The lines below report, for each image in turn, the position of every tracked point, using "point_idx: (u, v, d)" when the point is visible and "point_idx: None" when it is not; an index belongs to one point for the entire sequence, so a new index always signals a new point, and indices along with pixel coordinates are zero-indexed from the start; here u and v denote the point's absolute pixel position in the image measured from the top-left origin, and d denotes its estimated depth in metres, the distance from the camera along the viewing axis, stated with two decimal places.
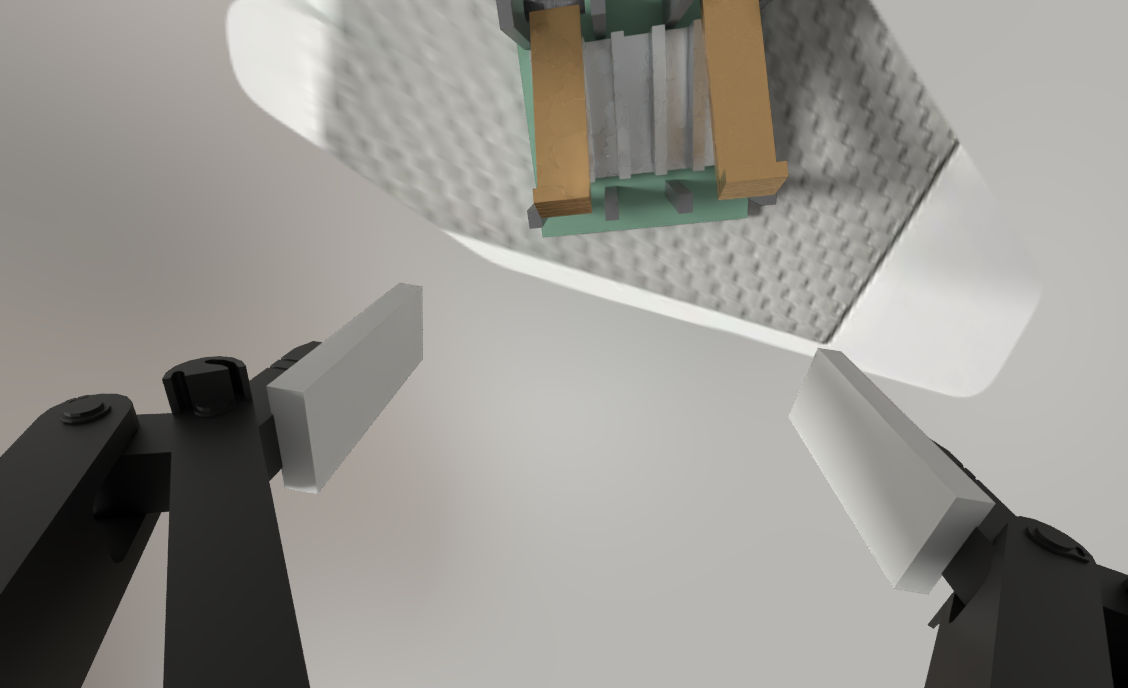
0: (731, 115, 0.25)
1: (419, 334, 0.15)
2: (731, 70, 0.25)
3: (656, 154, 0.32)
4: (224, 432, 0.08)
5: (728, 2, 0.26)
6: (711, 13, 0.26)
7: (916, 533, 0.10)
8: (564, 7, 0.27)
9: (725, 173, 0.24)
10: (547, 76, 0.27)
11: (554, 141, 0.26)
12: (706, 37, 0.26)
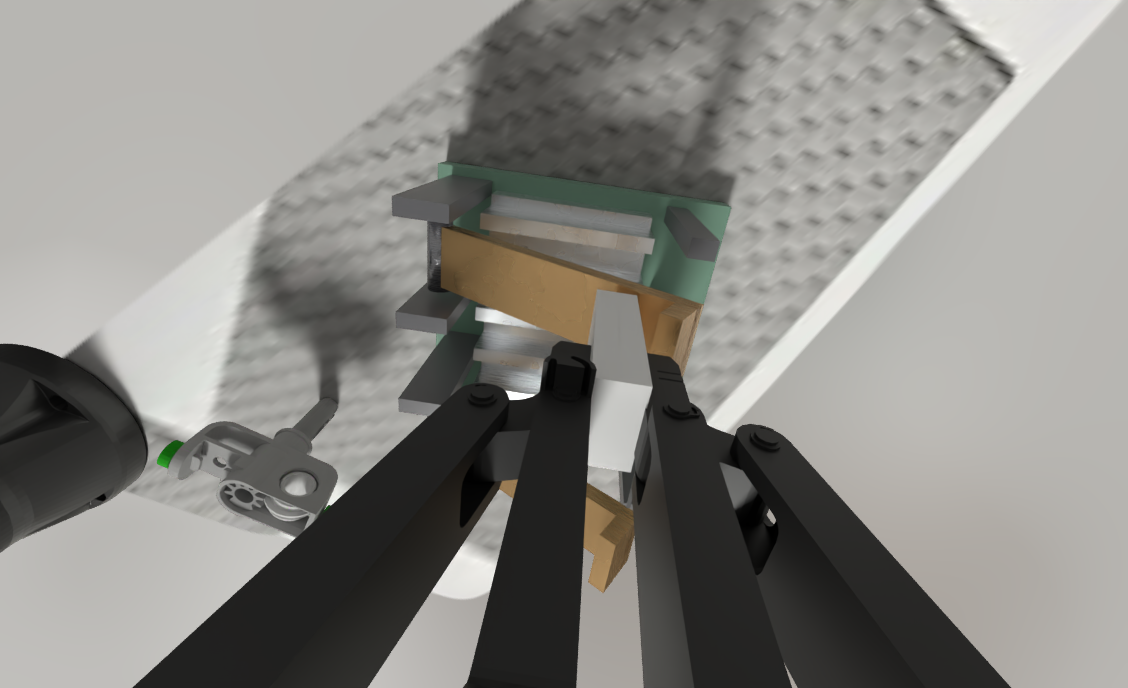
0: (580, 322, 0.19)
1: None
2: (530, 298, 0.20)
3: None
4: (567, 416, 0.10)
5: (461, 267, 0.22)
6: (468, 290, 0.22)
7: None
8: None
9: None
10: None
11: None
12: (490, 306, 0.21)
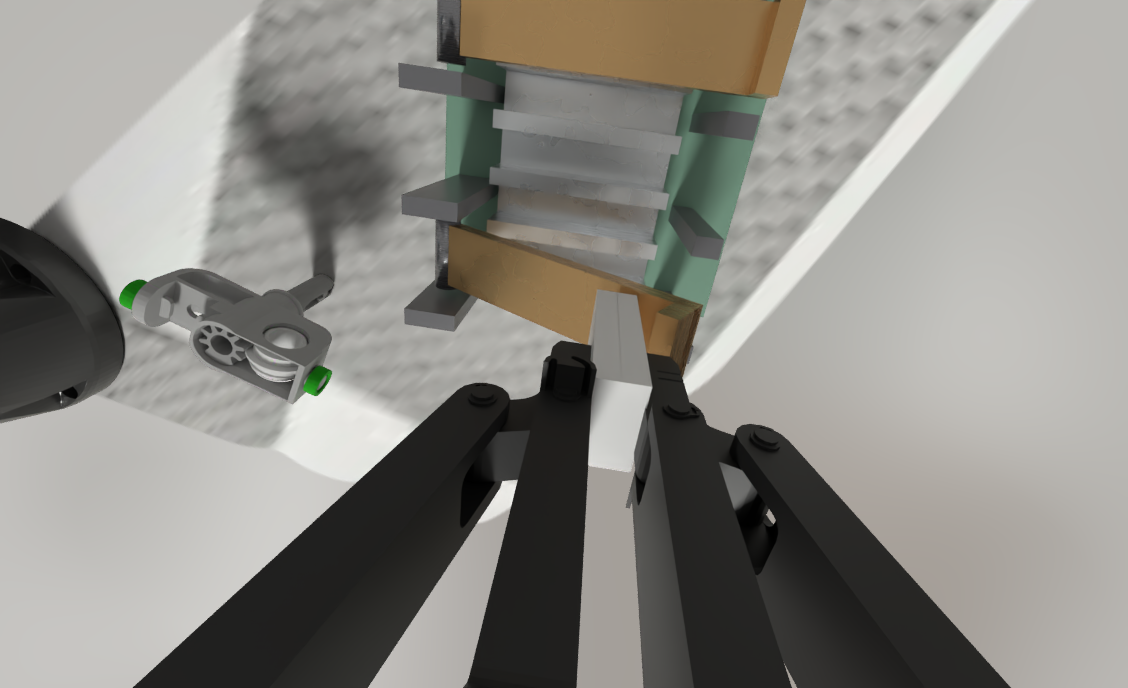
0: (659, 54, 0.18)
1: None
2: (594, 38, 0.18)
3: (649, 149, 0.22)
4: (567, 416, 0.10)
5: (493, 19, 0.18)
6: (503, 49, 0.19)
7: None
8: (449, 243, 0.22)
9: (761, 93, 0.17)
10: (512, 294, 0.21)
11: (587, 320, 0.19)
12: (536, 65, 0.19)
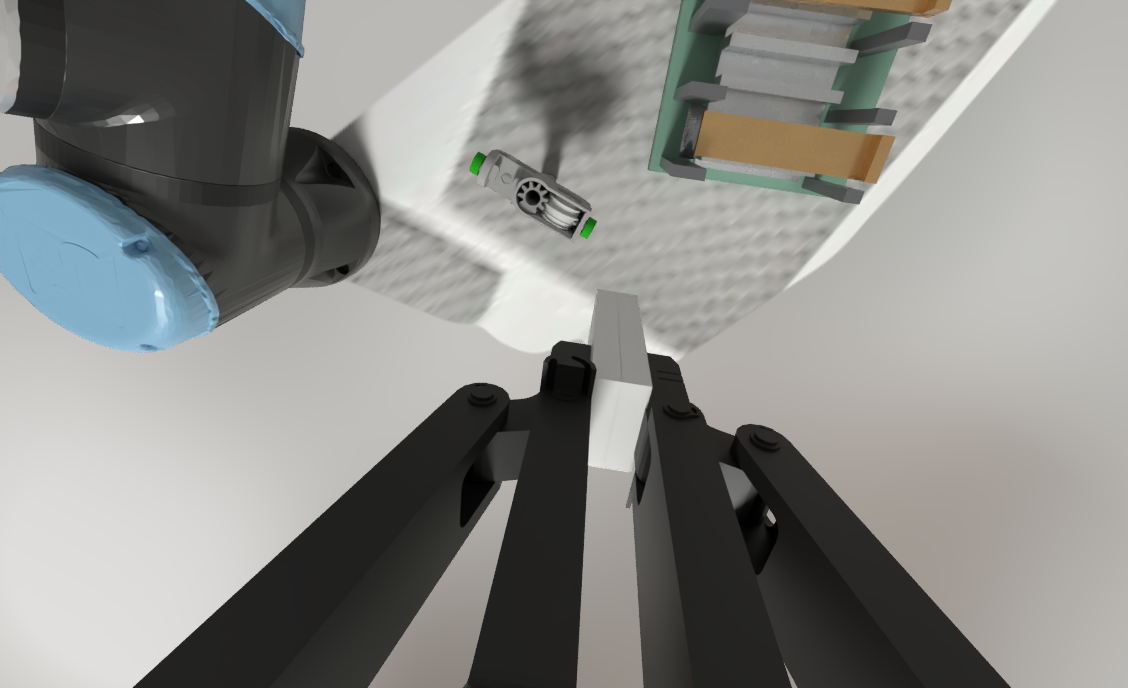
0: None
1: None
2: None
3: (835, 59, 0.33)
4: (567, 417, 0.10)
5: None
6: None
7: None
8: (701, 123, 0.34)
9: (937, 8, 0.28)
10: (756, 151, 0.34)
11: (814, 156, 0.33)
12: None
